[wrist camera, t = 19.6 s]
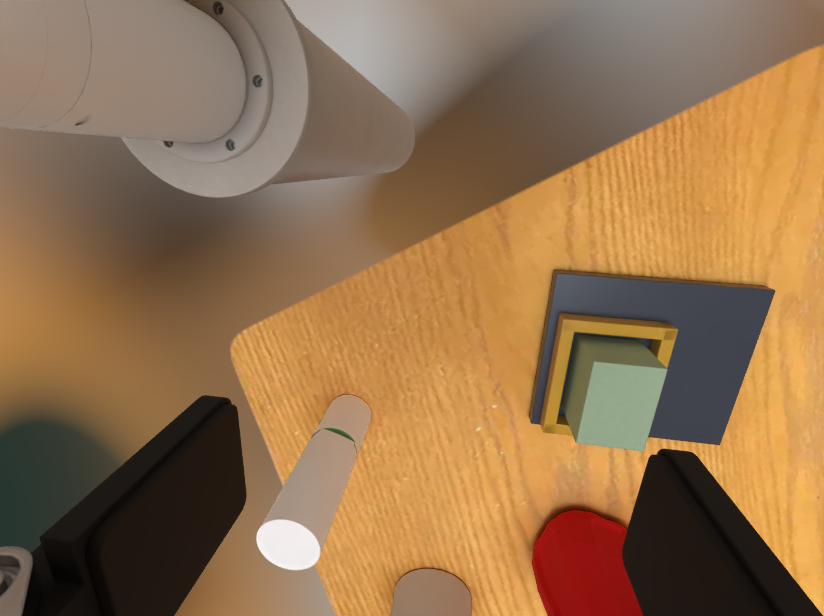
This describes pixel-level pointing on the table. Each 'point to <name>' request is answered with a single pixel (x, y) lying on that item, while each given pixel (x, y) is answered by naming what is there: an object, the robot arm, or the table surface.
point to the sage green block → (612, 392)
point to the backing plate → (656, 344)
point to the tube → (315, 487)
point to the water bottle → (583, 567)
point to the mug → (431, 595)
